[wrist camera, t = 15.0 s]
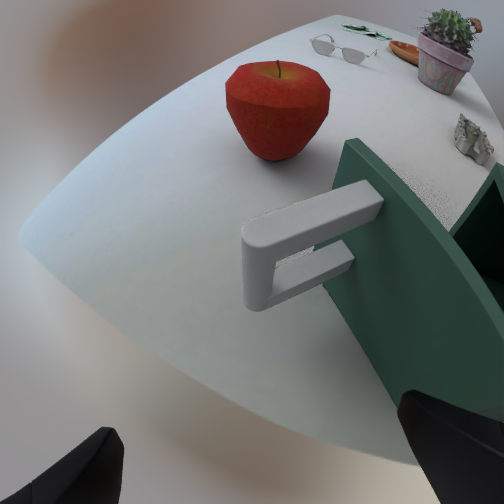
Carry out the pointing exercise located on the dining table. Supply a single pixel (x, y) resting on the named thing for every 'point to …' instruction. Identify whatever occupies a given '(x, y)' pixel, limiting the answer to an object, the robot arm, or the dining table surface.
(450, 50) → the potted plant
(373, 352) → the cooler door
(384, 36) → the cloth
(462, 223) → the box
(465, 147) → the egg carton
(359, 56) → the eyeglasses
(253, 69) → the apple
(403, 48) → the saucer
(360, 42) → the dining table surface
